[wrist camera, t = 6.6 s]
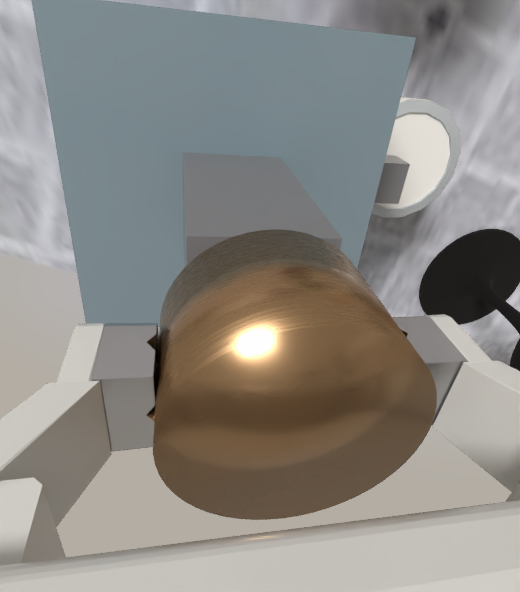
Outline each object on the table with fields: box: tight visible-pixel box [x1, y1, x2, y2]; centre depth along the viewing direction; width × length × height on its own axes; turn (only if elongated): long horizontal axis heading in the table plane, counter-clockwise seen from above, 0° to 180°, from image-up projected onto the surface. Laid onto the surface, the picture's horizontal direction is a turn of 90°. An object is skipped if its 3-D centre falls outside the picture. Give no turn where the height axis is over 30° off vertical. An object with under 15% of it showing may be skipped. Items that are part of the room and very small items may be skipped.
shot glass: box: [372, 97, 460, 218], centre depth 27 cm, size 7×7×7 cm
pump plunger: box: [153, 229, 437, 520], centre depth 11 cm, size 5×5×11 cm
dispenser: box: [32, 0, 416, 327], centre depth 19 cm, size 15×12×21 cm
